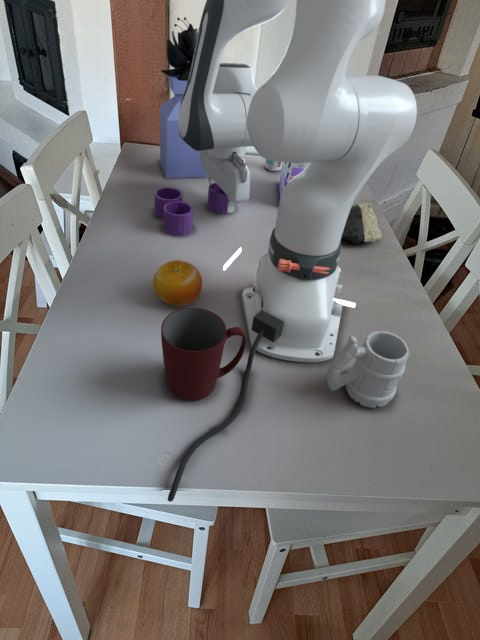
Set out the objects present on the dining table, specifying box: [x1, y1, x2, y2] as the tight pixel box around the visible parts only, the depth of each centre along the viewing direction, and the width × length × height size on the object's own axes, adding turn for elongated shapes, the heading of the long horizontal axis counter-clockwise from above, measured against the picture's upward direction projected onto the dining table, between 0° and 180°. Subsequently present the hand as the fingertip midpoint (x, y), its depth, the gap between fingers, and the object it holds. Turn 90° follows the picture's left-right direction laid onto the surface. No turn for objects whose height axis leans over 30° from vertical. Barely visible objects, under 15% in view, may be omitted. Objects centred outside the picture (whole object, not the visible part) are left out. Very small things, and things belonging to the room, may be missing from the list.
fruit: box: [152, 260, 203, 307], centre depth 83 cm, size 8×9×8 cm
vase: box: [159, 16, 208, 179], centre depth 116 cm, size 14×12×35 cm
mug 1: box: [160, 307, 248, 402], centre depth 68 cm, size 12×9×11 cm
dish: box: [162, 201, 194, 237], centre depth 102 cm, size 6×6×5 cm
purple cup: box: [153, 186, 184, 220], centre depth 106 cm, size 6×6×5 cm
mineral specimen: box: [341, 202, 383, 243], centre depth 107 cm, size 13×7×15 cm
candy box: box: [278, 162, 310, 199], centre depth 116 cm, size 14×6×16 cm, turn 179°
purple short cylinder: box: [207, 183, 229, 215], centre depth 111 cm, size 6×6×5 cm
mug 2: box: [326, 330, 410, 409], centre depth 69 cm, size 8×12×12 cm, turn 102°
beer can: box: [264, 159, 283, 172], centre depth 129 cm, size 5×5×12 cm
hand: (221, 201), depth 112 cm, fingers open, 8 cm apart
